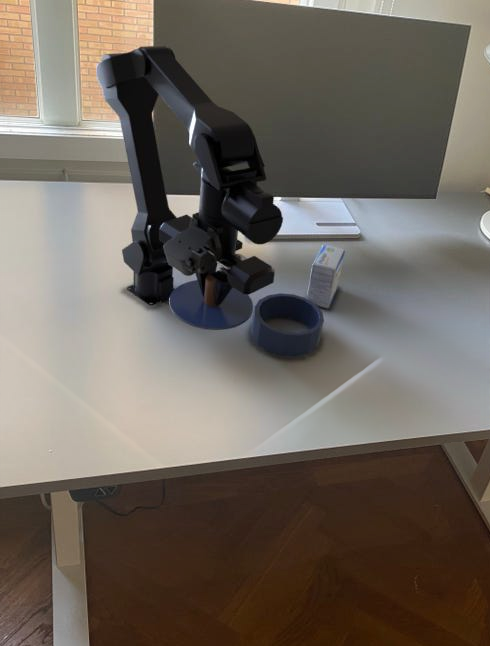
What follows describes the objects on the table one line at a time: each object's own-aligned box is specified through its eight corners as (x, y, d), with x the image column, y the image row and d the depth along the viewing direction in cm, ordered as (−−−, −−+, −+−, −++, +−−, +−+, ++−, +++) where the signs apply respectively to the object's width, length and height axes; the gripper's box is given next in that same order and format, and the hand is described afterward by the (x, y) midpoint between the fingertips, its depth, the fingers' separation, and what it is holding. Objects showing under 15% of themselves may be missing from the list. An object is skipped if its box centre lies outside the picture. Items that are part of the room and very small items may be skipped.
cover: (151, 303, 110) (151, 272, 106) (212, 276, 119) (214, 247, 115) (209, 344, 105) (212, 313, 101) (269, 312, 114) (273, 283, 110)
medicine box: (328, 310, 131) (336, 270, 126) (304, 303, 132) (312, 263, 126) (337, 288, 138) (346, 249, 132) (315, 281, 138) (322, 242, 132)
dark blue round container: (236, 333, 121) (239, 309, 118) (282, 308, 129) (286, 285, 126) (288, 368, 116) (293, 344, 113) (332, 340, 124) (337, 317, 121)
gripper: (129, 196, 99) (129, 289, 109) (225, 256, 92) (216, 350, 102) (190, 178, 107) (185, 266, 117) (283, 232, 100) (269, 321, 109)
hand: (212, 300), depth 111 cm, fingers closed on cover, 2 cm apart
